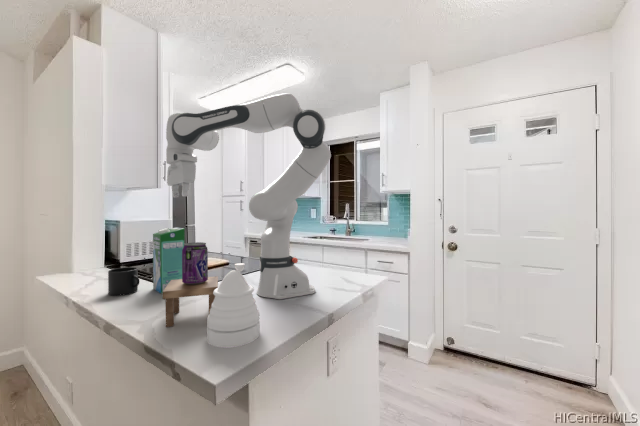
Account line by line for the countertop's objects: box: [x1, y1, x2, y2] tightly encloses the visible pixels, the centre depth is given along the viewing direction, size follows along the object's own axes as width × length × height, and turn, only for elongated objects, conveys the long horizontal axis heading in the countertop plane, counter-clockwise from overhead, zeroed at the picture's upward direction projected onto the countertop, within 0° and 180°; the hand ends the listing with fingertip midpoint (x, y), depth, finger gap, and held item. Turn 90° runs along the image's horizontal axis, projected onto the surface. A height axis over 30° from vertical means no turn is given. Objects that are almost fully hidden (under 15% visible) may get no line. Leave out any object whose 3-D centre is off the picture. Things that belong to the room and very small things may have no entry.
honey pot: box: [206, 262, 261, 349], centre depth 72 cm, size 13×13×18 cm
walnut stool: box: [162, 276, 219, 328], centre depth 85 cm, size 14×14×10 cm
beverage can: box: [182, 241, 209, 285], centre depth 86 cm, size 7×7×12 cm
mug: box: [107, 266, 140, 297], centre depth 110 cm, size 9×12×9 cm
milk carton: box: [152, 227, 186, 294], centre depth 115 cm, size 9×9×25 cm
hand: (180, 196), depth 104 cm, fingers open, 8 cm apart
